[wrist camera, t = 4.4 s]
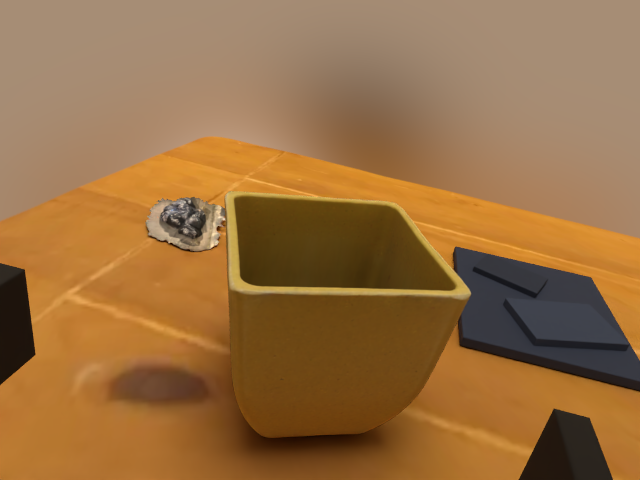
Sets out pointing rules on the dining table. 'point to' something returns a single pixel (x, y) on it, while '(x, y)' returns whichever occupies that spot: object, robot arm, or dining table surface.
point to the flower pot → (332, 311)
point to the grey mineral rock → (186, 223)
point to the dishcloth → (542, 318)
